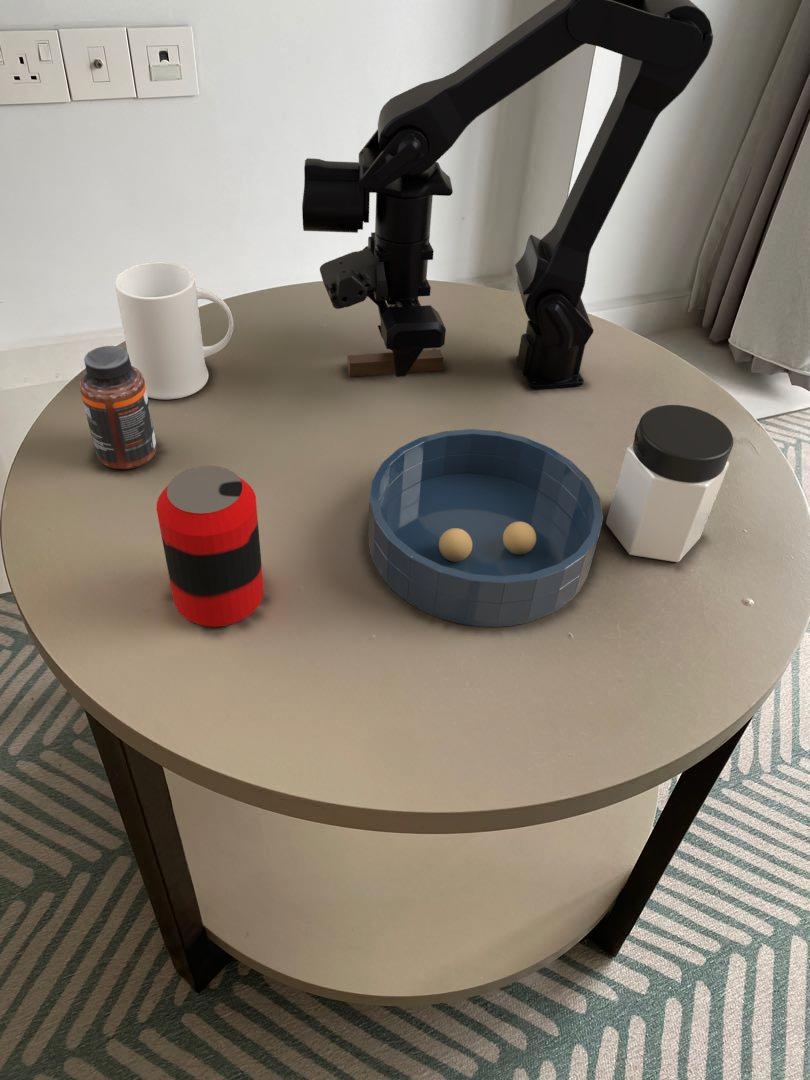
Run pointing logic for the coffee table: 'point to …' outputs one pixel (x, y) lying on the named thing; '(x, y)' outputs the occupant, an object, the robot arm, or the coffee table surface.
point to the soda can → (211, 545)
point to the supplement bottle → (117, 409)
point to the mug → (166, 327)
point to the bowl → (482, 526)
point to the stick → (392, 363)
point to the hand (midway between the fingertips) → (395, 362)
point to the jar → (669, 481)
